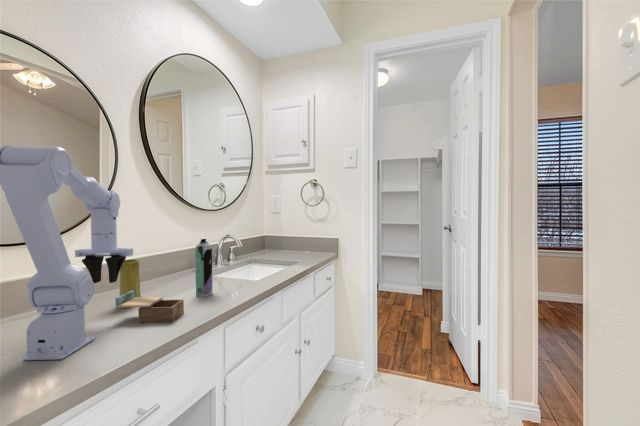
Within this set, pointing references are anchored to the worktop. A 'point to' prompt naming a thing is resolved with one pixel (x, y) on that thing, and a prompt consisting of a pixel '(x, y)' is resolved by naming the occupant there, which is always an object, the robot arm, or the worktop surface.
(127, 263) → the vase
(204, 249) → the spray can
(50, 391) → the worktop surface
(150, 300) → the tan panel teal strip
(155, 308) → the box
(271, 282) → the worktop surface
